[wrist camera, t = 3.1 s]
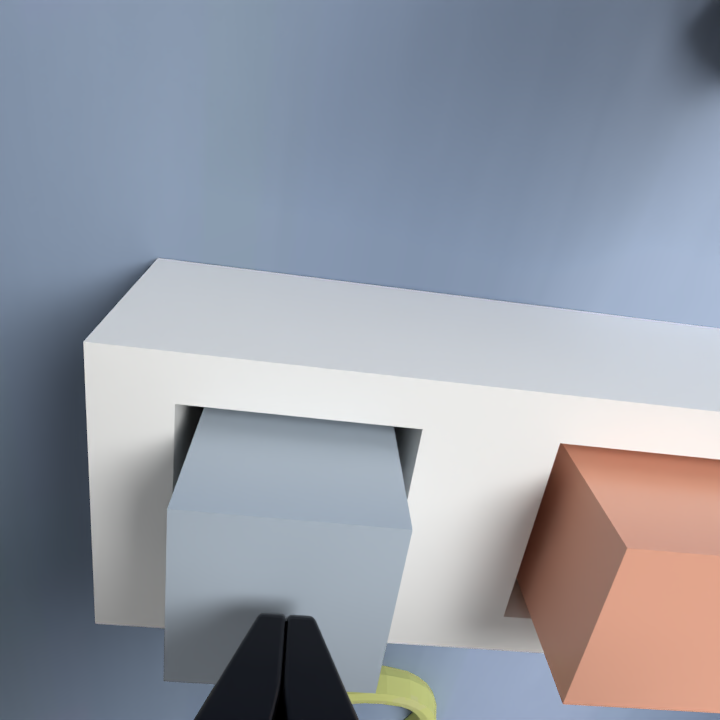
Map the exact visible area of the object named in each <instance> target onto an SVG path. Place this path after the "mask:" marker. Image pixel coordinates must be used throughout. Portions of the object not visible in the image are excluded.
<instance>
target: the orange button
mask: <svg viewBox="0 0 720 720" xmlns="http://www.w3.org/2000/svg"><path fill="white" fill-rule="evenodd" d="M516 578H517V581H518V584H519V586H520V589H521V592H522V595H523V597H524V600H525V603H526V605H527V608H528V611H529V613H530V616H531V619H532V622H533V624H534V627H535V630H536V632H537V635H538V638H539V641H540V643H541V646H542V649H543V651H544V654H545V657H546V660H547V662H548V665H549V668H550V670H551V673H552V676H553V678H554V681H555V684H556V687H557V689H558V692H559V695H560V697H561V700H562V703H563V704H570V705H587V706H604V707H622V708H639V709H657V710H674V711H692V712H709V713H720V460H719V459H709V458H700V457H690V456H680V455H670V454H660V453H651V452H641V451H631V450H621V449H611V448H602V447H592V446H582V445H572V444H562V443H560V445H559V448H558V451H557V454H556V457H555V460H554V463H553V467H552V470H551V473H550V476H549V479H548V482H547V485H546V488H545V491H544V494H543V497H542V500H541V503H540V506H539V509H538V512H537V516H536V519H535V522H534V525H533V528H532V531H531V534H530V537H529V540H528V543H527V546H526V549H525V552H524V555H523V558H522V561H521V565H520V568H519V571H518V574H517V577H516Z"/></svg>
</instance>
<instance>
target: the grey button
mask: <svg viewBox="0 0 720 720" xmlns="http://www.w3.org/2000/svg"><path fill="white" fill-rule="evenodd" d="M412 530H413V529H412V524H411V518H410V513H409V507H408V502H407V496H406V491H405V485H404V480H403V474H402V469H401V464H400V458H399V453H398V447H397V442H396V436H395V431H394V426H386V425H376V424H366V423H356V422H346V421H337V420H327V419H317V418H307V417H297V416H288V415H278V414H268V413H258V412H248V411H239V410H229V409H219V408H209V407H204V409H203V412H202V415H201V417H200V420H199V423H198V426H197V428H196V431H195V434H194V437H193V439H192V442H191V445H190V448H189V450H188V453H187V456H186V459H185V461H184V464H183V467H182V470H181V472H180V475H179V478H178V481H177V483H176V486H175V489H174V492H173V494H172V497H171V500H170V503H169V505H168V508H167V540H166V588H165V637H164V681H168V682H186V683H203V684H216V683H217V681H218V679H219V678H220V676H221V675H222V673H223V671H224V670H225V668H226V666H227V665H228V663H229V662H230V660H231V658H232V657H233V655H234V653H235V652H236V650H237V648H238V647H239V645H240V644H241V642H242V640H243V639H244V637H245V635H246V634H247V632H248V631H249V629H250V627H251V626H252V624H253V622H254V621H255V619H256V618H257V616H258V615H259V614H260V613H278V614H284V615H285V616H286V620H287V617H288V616H289V615H306V616H312V617H313V618H314V619H315V620H316V622H317V624H318V627H319V629H320V631H321V633H322V636H323V638H324V640H325V643H326V645H327V647H328V650H329V652H330V654H331V657H332V659H333V661H334V664H335V666H336V668H337V671H338V673H339V675H340V677H341V680H342V682H343V684H344V687H345V689H346V691H347V692H360V693H376V689H377V685H378V680H379V676H380V672H381V667H382V663H383V658H384V654H385V650H386V645H387V641H388V636H389V632H390V627H391V623H392V619H393V614H394V610H395V605H396V601H397V597H398V592H399V588H400V583H401V579H402V575H403V570H404V566H405V561H406V557H407V552H408V548H409V544H410V539H411V535H412Z"/></svg>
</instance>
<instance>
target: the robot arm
mask: <svg viewBox="0 0 720 720" xmlns="http://www.w3.org/2000/svg"><path fill="white" fill-rule="evenodd" d="M194 720H359V719H358V717H357V714H356V712H355V710H354V708H353V705H352V703H351V701H350V698H349V696H348V694H347V691H346V689H345V687H344V684H343V682H342V680H341V677H340V675H339V673H338V671H337V668H336V666H335V664H334V661H333V659H332V657H331V654H330V652H329V650H328V647H327V645H326V643H325V640H324V638H323V636H322V633H321V631H320V629H319V627H318V624H317V622H316V620H315V619H314V618H313V617H312V616H306V615H289V616H288V617H287V620H286V616H285V615H284V614H278V613H260V614H259V615H258V616H257V618H256V619H255V621H254V622H253V624H252V626H251V627H250V629H249V631H248V632H247V634H246V635H245V637H244V639H243V640H242V642H241V644H240V645H239V647H238V648H237V650H236V652H235V653H234V655H233V657H232V658H231V660H230V662H229V663H228V665H227V666H226V668H225V670H224V671H223V673H222V675H221V676H220V678H219V679H218V681H217V683H216V684H215V686H214V688H213V689H212V691H211V693H210V694H209V696H208V697H207V699H206V701H205V702H204V704H203V706H202V707H201V709H200V711H199V712H198V714H197V715H196V717H195V719H194Z"/></svg>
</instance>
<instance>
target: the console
mask: <svg viewBox="0 0 720 720" xmlns="http://www.w3.org/2000/svg"><path fill="white" fill-rule="evenodd" d="M83 346H84V370H85V393H86V417H87V440H88V464H89V487H90V511H91V534H92V558H93V582H94V605H95V624H107V625H122V626H137V627H153V628H165V588H166V540H167V508H168V505H169V503H170V500H171V497H172V494H173V492H174V489H175V486H176V483H177V481H178V478H179V475H180V472H181V470H182V467H183V464H184V461H185V459H186V456H187V453H188V450H189V448H190V445H191V442H192V439H193V437H194V434H195V431H196V428H197V426H198V423H199V420H200V417H201V415H202V412H203V409H204V407H209V408H219V409H229V410H239V411H248V412H258V413H268V414H278V415H288V416H297V417H307V418H317V419H327V420H337V421H346V422H356V423H366V424H376V425H386V426H394V431H395V436H396V442H397V447H398V453H399V458H400V464H401V469H402V474H403V480H404V485H405V491H406V496H407V502H408V507H409V513H410V518H411V524H412V529H413V530H412V535H411V539H410V544H409V548H408V552H407V557H406V561H405V566H404V570H403V575H402V579H401V583H400V588H399V592H398V597H397V601H396V605H395V610H394V614H393V619H392V623H391V627H390V632H389V636H388V641H387V643H396V644H411V645H426V646H441V647H456V648H472V649H487V650H502V651H517V652H532V653H544V651H543V649H542V646H541V643H540V641H539V638H538V635H537V632H536V630H535V627H534V624H533V622H532V619H531V616H530V613H529V611H528V608H527V605H526V603H525V600H524V597H523V595H522V592H521V589H520V586H519V584H518V581H517V578H516V577H517V574H518V571H519V568H520V565H521V561H522V558H523V555H524V552H525V549H526V546H527V543H528V540H529V537H530V534H531V531H532V528H533V525H534V522H535V519H536V516H537V512H538V509H539V506H540V503H541V500H542V497H543V494H544V491H545V488H546V485H547V482H548V479H549V476H550V473H551V470H552V467H553V463H554V460H555V457H556V454H557V451H558V448H559V445H560V443H562V444H572V445H582V446H592V447H602V448H611V449H621V450H631V451H641V452H651V453H660V454H670V455H680V456H690V457H700V458H709V459H719V460H720V328H714V327H706V326H698V325H690V324H682V323H674V322H666V321H658V320H650V319H642V318H634V317H626V316H618V315H610V314H602V313H594V312H586V311H578V310H570V309H562V308H554V307H546V306H538V305H530V304H522V303H514V302H506V301H498V300H490V299H482V298H474V297H466V296H458V295H450V294H442V293H434V292H426V291H418V290H410V289H402V288H394V287H386V286H378V285H370V284H362V283H354V282H346V281H338V280H330V279H322V278H314V277H306V276H298V275H290V274H282V273H274V272H266V271H258V270H250V269H242V268H234V267H226V266H218V265H210V264H202V263H194V262H186V261H178V260H170V259H162V258H158V259H157V260H156V261H155V262H154V263H153V264H152V265H151V266H150V268H149V269H148V270H147V271H146V272H145V273H144V274H143V275H142V277H141V278H140V279H139V280H138V281H137V282H136V283H135V284H134V285H133V287H132V288H131V289H130V290H129V291H128V292H127V293H126V294H125V296H124V297H123V298H122V299H121V300H120V301H119V302H118V303H117V305H116V306H115V307H114V308H113V309H112V310H111V311H110V312H109V313H108V315H107V316H106V317H105V318H104V319H103V320H102V321H101V322H100V324H99V325H98V326H97V327H96V328H95V329H94V330H93V331H92V333H91V334H90V335H89V336H88V337H87V338H86V339H85V340H84V341H83Z"/></svg>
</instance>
